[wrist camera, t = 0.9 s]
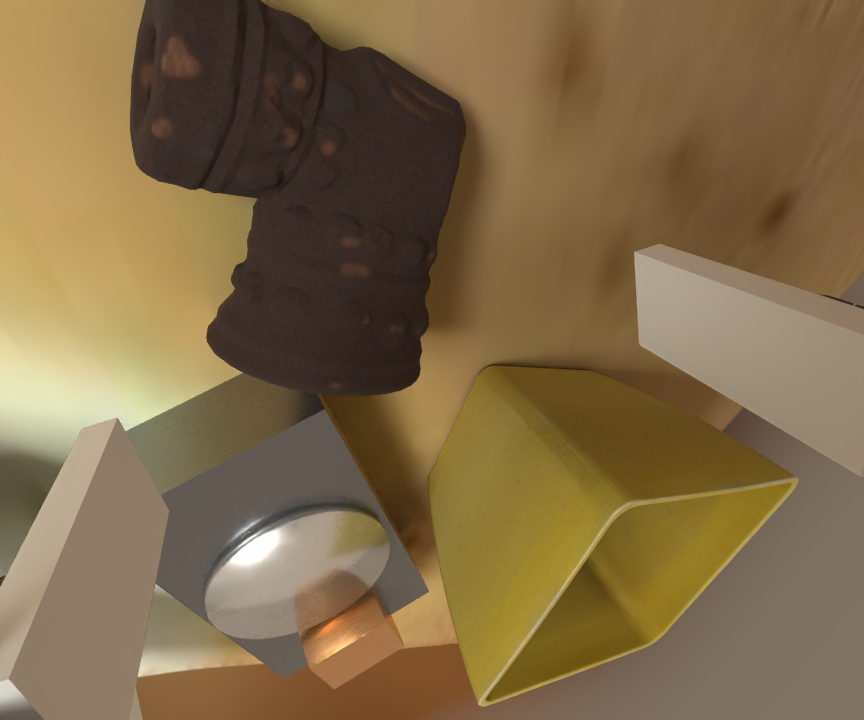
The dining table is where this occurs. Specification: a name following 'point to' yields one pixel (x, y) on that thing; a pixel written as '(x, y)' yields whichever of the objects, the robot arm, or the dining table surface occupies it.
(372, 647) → the block
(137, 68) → the pipe
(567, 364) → the dining table surface
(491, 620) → the flower pot
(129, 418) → the dining table surface
